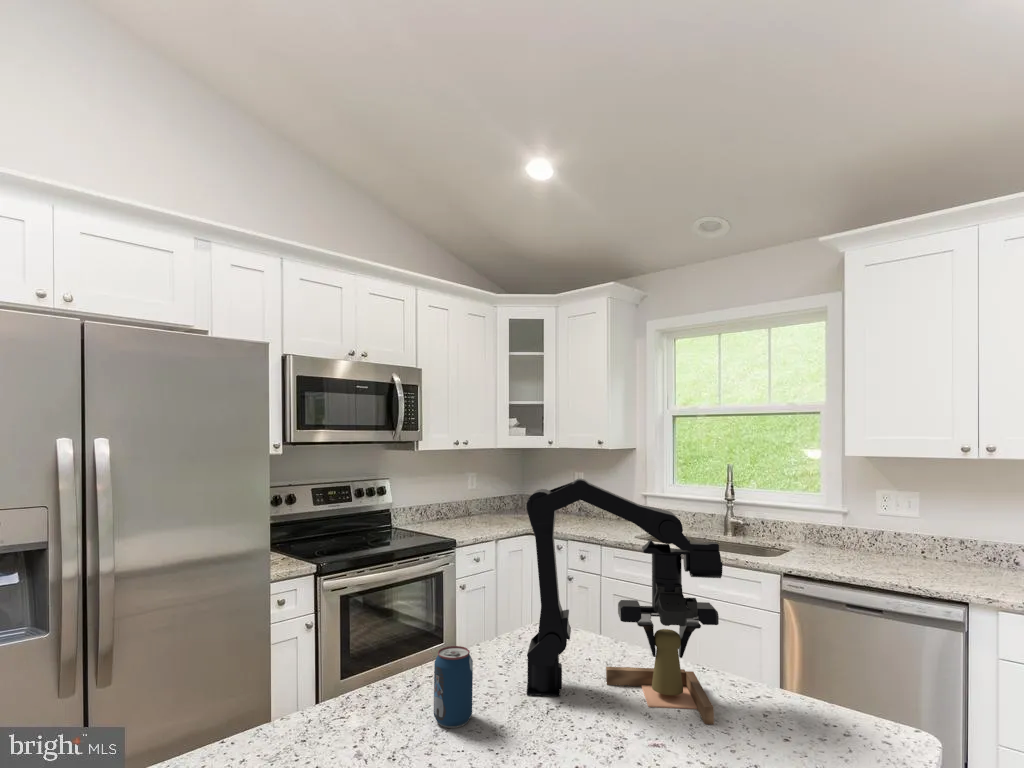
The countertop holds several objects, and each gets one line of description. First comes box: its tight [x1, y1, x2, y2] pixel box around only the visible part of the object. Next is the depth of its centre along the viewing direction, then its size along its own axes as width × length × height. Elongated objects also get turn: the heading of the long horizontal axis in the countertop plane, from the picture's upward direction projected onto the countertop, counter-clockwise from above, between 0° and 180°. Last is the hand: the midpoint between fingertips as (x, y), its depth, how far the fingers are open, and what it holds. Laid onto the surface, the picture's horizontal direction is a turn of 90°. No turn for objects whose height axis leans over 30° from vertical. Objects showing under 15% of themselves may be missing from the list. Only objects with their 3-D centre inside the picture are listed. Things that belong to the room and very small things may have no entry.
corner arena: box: [605, 666, 715, 725], centre depth 116 cm, size 18×17×3 cm
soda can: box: [433, 645, 474, 729], centre depth 108 cm, size 7×7×12 cm
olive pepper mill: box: [652, 628, 683, 695], centre depth 118 cm, size 6×6×11 cm
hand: (667, 656), depth 118 cm, fingers closed on olive pepper mill, 5 cm apart
